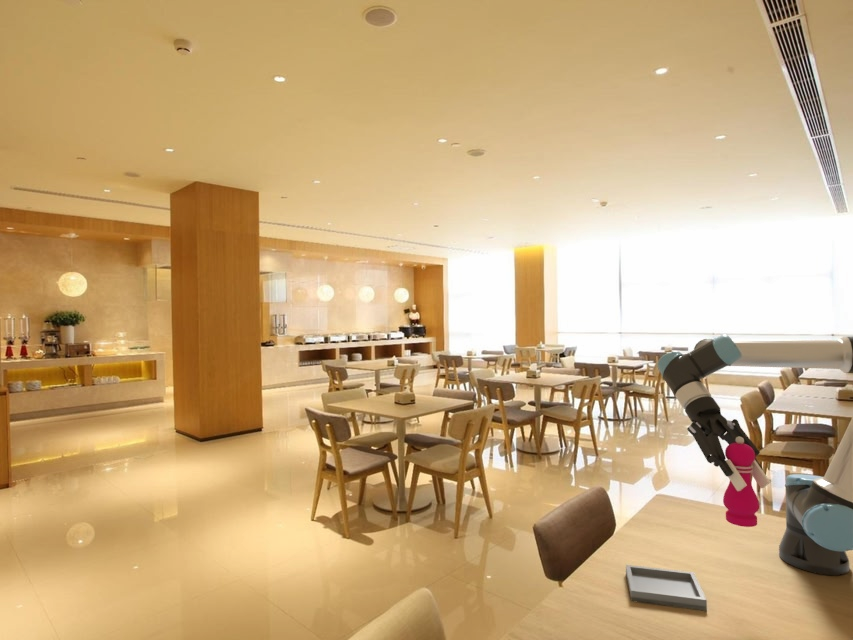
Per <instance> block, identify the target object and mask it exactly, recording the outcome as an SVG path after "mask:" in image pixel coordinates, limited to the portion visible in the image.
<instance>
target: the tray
mask: <svg viewBox="0 0 853 640" xmlns="http://www.w3.org/2000/svg"><path fill="white" fill-rule="evenodd" d="M696 576H697V575H696V573H695V572H694V571H693V572H692V571H686V570H685V571H684V570H676V569H667V568H657V567H649V566H641V565H632V564H625V577H626V580H627V581H626V582H627V585H628V586H627V587H628V592H629V597H630V601H631V602H634V601H637V602H636V603H641V604H643V603H644V604H650V605H658V606H664V607H665V606H666V607H674V608H679V609H681V608H682V609H687V610H688V609H689V610H695V611H696V610H697V611H704V612H705V611H706V612H707V611H708V610H707V609H708V605H707V602H708V600H707V598H706V596H705V593H704V591H703V589H702V586H701V585H700V583H699V580H698V579H697V577H696Z"/></svg>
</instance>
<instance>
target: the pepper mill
mask: <svg viewBox="0 0 853 640" xmlns="http://www.w3.org/2000/svg"><path fill="white" fill-rule="evenodd" d="M735 441H736V443H732V444H730V445H729V444H728V445H727V446H726V448H725V452H724V455H725V458H726V460H728V459H730V460H731V462H732V463H733V465H734V466H735V468H736V469H737V471H738V472H739V474H740V475H741V477H742V478H743V480H744V481H745V483H746V484H747V486H745V487H744V488H743V489H742V490H741V491H737V490H736V488H735V487H734V485H733V484H732V482H731V481H730V480H729V483H728V485H727V487H726V490H725V491H724V494H723V499H722V502H723V505H724V507H725V508H726V509H727V510H726V511H725V520H726V522H727V523H729V524H731V525H734V526H738V527H744V528H751V527H752V528H753V527H755V526H757V525H758V516H757V515H756V513H758V511H759V510H760V502H759V498H758V496H757V494H756V493H755V490H754V488H753V485H752V480H751V479H752V478H751V476H752V474H751V472H753V469H752V468H753V466H752V465H751V463H752V462H753V461H754V460H755V458H756V457H755V452H754V450H753V449H752V448H751V447H750V446H749V445H747V444H744V439H743V438H742V437H740V436H738V437H736V439H735Z"/></svg>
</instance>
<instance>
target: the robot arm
mask: <svg viewBox="0 0 853 640" xmlns="http://www.w3.org/2000/svg"><path fill="white" fill-rule="evenodd" d="M656 366H657V368H658V370H659V371H658V372H660V374H661V377H662V378H663V380H664V382H665V383H666V385H667V386H668V387H669V389H670V390H671V392H672V393H673V395H674V396H675V397H676V400H677V401H678V402H679V404H680V406H681V407H682V409H683V410H684V412H685V414H686V415H687V417H688V418H689V420H690V421H691V424H689V426H688V427H687V429H686V430H687V431H688V432H689V433H690V435H692V436H693V438H694V440H695V442H696V444H697V445H698V447H699V449H700V451H701V453H702V454H703V456H704V458H705V460H706V461H707V463H709V464H713V466H715V467H716V468H718V467H719V468H720V470H721V471H722V472H723V474H724V476H725V477H728V479H729V482H730V481H731V482H732V484H733V485H734V487H735V488H736V490H737V491H741V490H742V489H743V488H744V487H745V486H747V484H746V483H745V481H744V480H743V478H742V477H741V475H740V474H739V472H738V471H737V469H736V468H735V466H734V465H733V463H732V462H731V460H730V459H727V458H726V456H725V452H724V450H723V446H722V444H721V441H720V439H721V440H722V441H725V442H726V443H727V444H728V445H730V444H732V443H736V441H735V439H736V437H738V436H740V437H742V438H743V439H744V444H747V445H749V446H750V447H751V448H752V449H753V450H754V452H755V460H754V461H753V462H752V463H751V465H752V466H753V468H752V469H753V472H751V476H752V478H753V479H754V480H755V482H756V483H757V485H758V486H759V488H760V489H764V488H766V487H767V486H769V484H771V482H772V481H770V479H769V478H768V477H767V475H766V473H765V472H764V469H763V467H762V465H761V464H760V463H759V461H758V460H757V458H756V457H758V456H759V454H760V450H759V449H758V448H757V446H756V445H755V444H754V442H752V440H751V439H750V437H749V436H748V434H746V432H745V431H744V430H743V428H742V427H741V425H740V423H739V420H737V419H734V418H733V419H732V420H728V419H727V418H726V417H724V416H723V415H722V414H721V407H720V406H719V404H718V403H717V401H716V400H715V399H714V397H712V394H711V393H710V391H709V390H708V388H707V387H706V385H704V383H703V382H702V381H701V380H702V379H705V378H706V377H707V376H710V375H713V374H714V373H715V372H718V371H720V370H721V369H724V368H726V367H750V368H751V367H753V368H757V367H758V368H760V367H761V368H789V369H791V368H794V369H796V368H797V369H822V370H823V369H827V370H828V369H831V370H835V369H836V370H840V371H841V372H843V373H844V374H845V373H846V374H853V336H841V338H840V339H836V340H835V339H826V340H825V339H732V337H730V335H728V334H721V335H720V336H716V337H714V338H713V339H712V338H703V339H700V340H699V341H698V342H697V343H695V346H694V348H693V350H692V351H690V352H687V353H685V354H683V353H682V352H680V351H677V350H673V351H671V352H667V353H665V354H663V355H662V356H661V357H660V358H659V359H658V361H657V365H656ZM831 459H832V460H831V461H830V464H828V465H829V466H828V467H827V470H826V472H825V474H824V476H820V475H813V474H801V473H793V474H789V475H787V476H786V478H785V484H784V487H785V522H786V523H785V524H786V525H785V526H786V527H785V530H784V533H783V535H782V538H781V541H780V543H779V545H778V546H779V547H778V555H779V558H780V559H781V560H782V561H784V562H785V563H787V564H789V565H791V566H792V567H794V568H797V569H799V570H802V571H805V572H809V573H814V574H818V575H826V576H841V575H840V574H843V575H846V574H848V573H849V572H850V560H849V556H848V555H847V552H848V551H853V416H852V417H851V419H850V421H849V423H848V426H847V428H846V429H845V431H844V435H843V437H842V438H841V440H840V443H839V445H838V446H837V449H836V451H835V453H834V455H833V458H831ZM845 573H846V574H845Z"/></svg>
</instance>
